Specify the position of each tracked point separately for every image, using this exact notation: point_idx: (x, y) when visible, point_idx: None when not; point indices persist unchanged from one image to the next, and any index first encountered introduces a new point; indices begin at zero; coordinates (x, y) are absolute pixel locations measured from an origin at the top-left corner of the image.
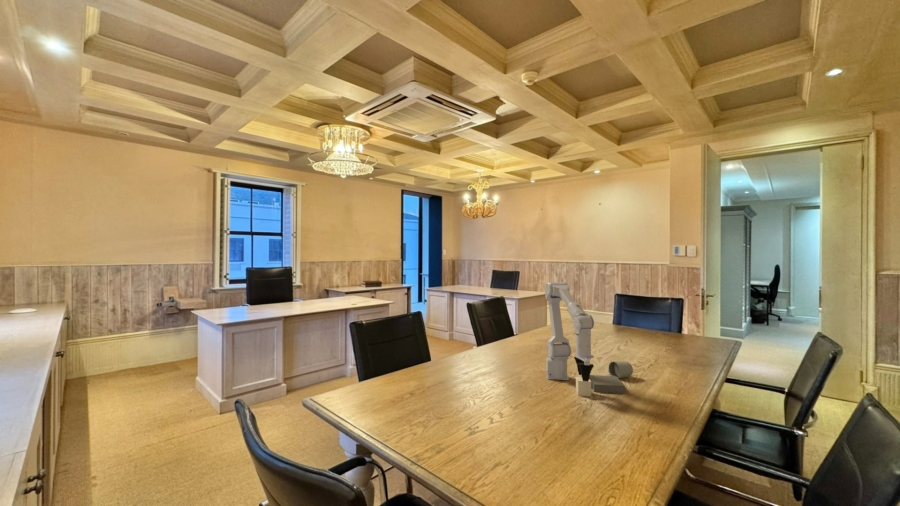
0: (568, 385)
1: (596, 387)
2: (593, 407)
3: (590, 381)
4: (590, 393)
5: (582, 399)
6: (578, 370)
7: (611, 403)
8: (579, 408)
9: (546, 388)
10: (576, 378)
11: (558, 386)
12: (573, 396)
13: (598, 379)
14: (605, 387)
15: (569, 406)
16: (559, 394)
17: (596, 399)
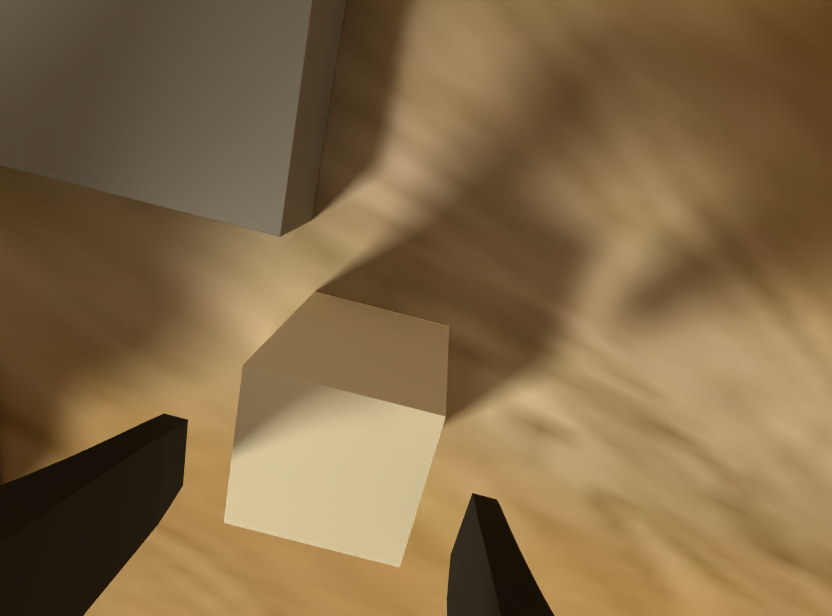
0: (140, 409)
1: (298, 201)
2: (726, 438)
3: (438, 423)
4: (446, 344)
5: (517, 444)
6: (130, 550)
7: (687, 200)
8: (706, 554)
9: (237, 606)
10: (274, 527)
11: (179, 504)
12: (434, 486)
13: (52, 54)
14: (317, 72)
15: (644, 603)
16: (377, 570)
17: (541, 312)
